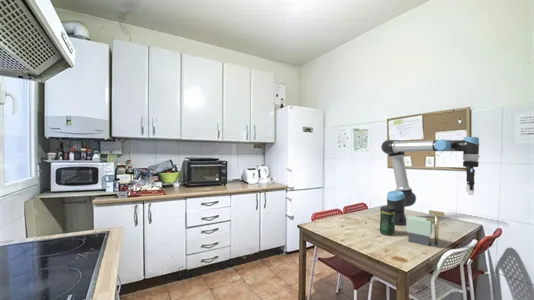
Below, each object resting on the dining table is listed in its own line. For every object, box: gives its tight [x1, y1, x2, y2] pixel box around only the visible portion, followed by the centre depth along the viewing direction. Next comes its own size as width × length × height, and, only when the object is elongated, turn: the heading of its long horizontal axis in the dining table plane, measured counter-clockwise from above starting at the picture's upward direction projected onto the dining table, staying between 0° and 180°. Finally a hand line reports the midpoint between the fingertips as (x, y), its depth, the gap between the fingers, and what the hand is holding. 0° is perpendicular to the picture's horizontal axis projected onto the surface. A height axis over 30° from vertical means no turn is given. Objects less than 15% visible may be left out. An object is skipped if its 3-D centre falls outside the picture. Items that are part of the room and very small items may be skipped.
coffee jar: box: [379, 204, 396, 236], centre depth 152 cm, size 10×8×19 cm
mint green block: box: [405, 214, 433, 237], centre depth 138 cm, size 12×9×8 cm
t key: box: [425, 209, 445, 245], centre depth 133 cm, size 8×2×19 cm, turn 50°
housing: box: [407, 232, 442, 249], centre depth 136 cm, size 16×7×6 cm, turn 50°
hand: (469, 193), depth 148 cm, fingers open, 13 cm apart
